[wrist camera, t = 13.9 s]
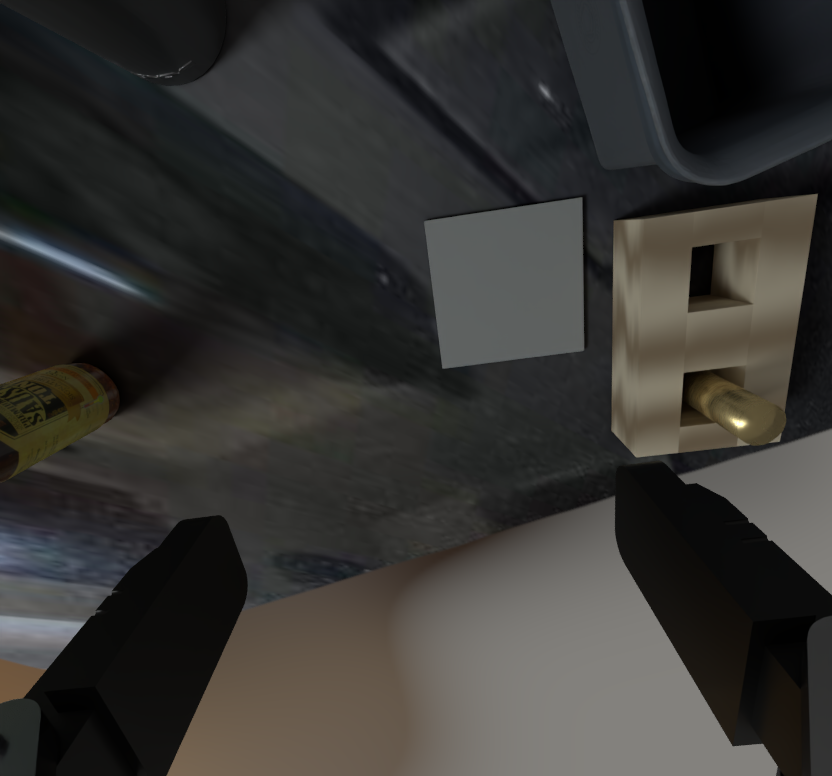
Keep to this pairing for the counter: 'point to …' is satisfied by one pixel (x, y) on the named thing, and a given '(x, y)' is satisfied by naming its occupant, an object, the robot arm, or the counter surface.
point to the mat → (508, 282)
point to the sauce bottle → (51, 413)
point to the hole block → (704, 315)
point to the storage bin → (701, 82)
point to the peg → (733, 407)
